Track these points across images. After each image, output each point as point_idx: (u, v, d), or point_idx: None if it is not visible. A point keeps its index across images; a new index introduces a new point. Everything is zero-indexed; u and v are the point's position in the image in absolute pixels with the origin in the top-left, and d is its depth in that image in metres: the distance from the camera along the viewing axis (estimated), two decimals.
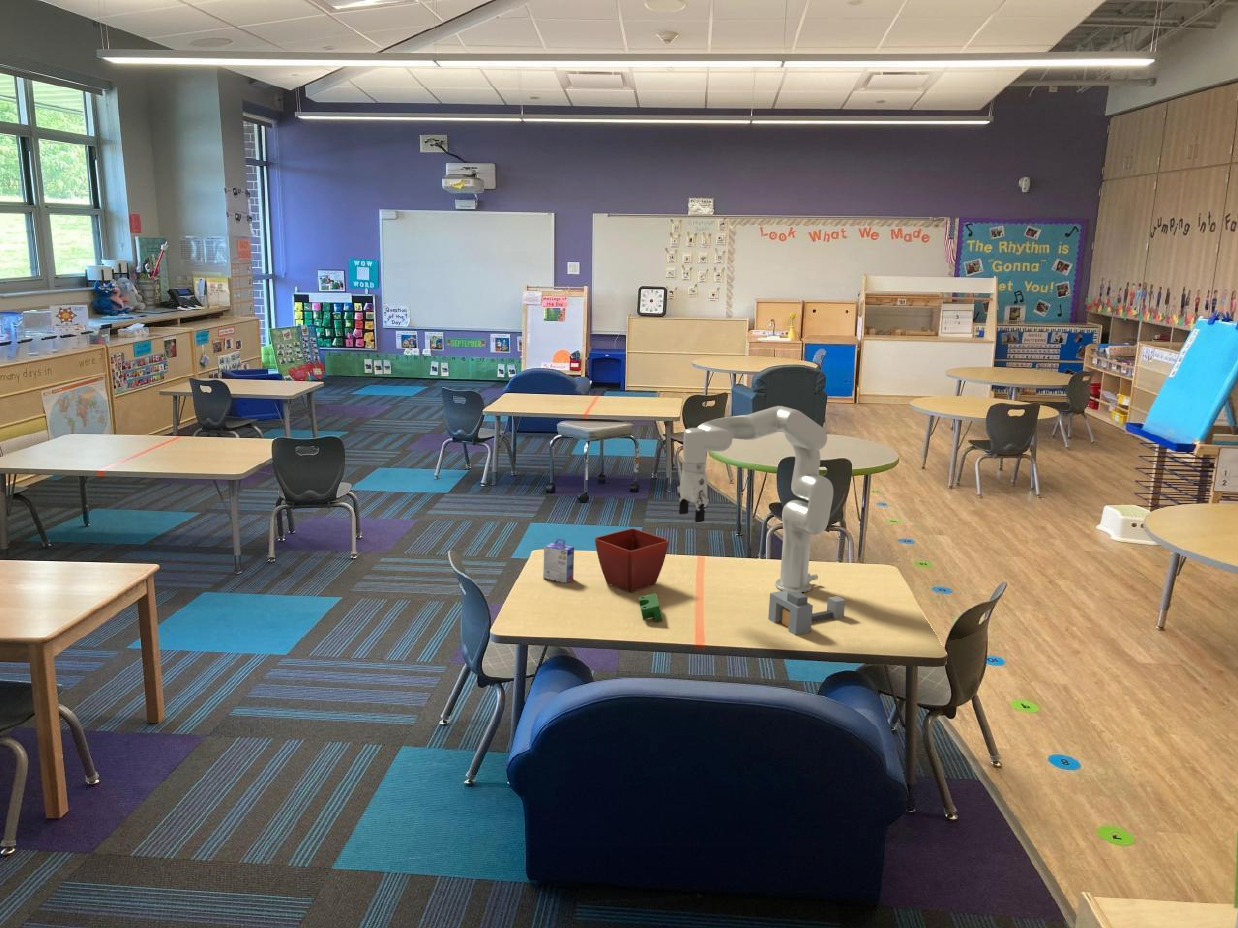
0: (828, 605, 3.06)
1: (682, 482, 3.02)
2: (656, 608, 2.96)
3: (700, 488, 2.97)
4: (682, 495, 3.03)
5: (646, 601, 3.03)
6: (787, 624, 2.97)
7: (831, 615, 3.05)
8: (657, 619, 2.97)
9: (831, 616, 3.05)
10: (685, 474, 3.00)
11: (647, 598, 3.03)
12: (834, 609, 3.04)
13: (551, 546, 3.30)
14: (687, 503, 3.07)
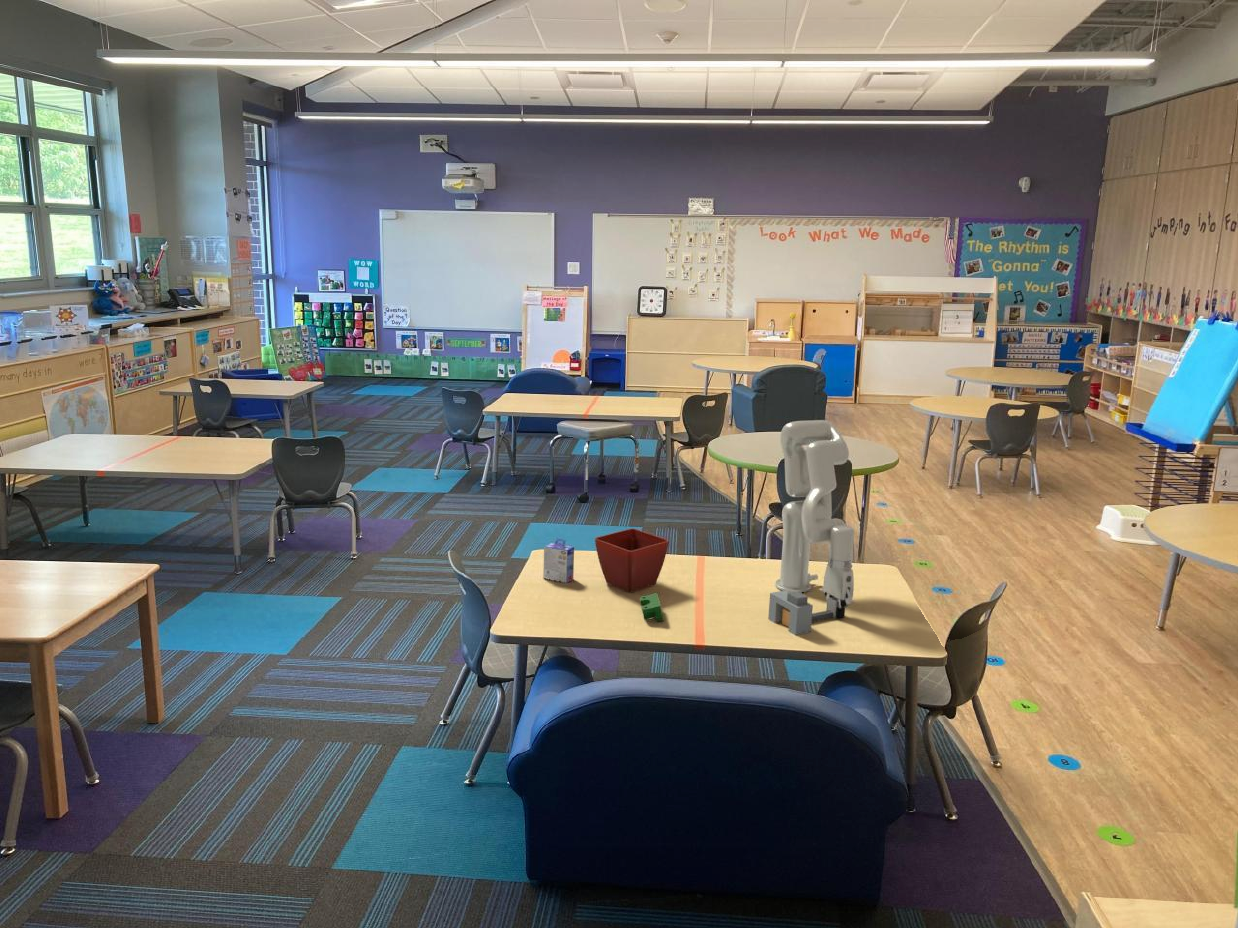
0: (828, 605, 3.06)
1: (827, 577, 3.05)
2: (657, 608, 2.96)
3: (847, 585, 2.99)
4: (826, 590, 3.06)
5: (647, 601, 3.03)
6: (787, 624, 2.97)
7: (831, 615, 3.05)
8: (658, 619, 2.97)
9: (831, 616, 3.05)
10: (831, 570, 3.03)
11: (649, 598, 3.03)
12: (834, 609, 3.04)
13: (550, 546, 3.30)
14: None
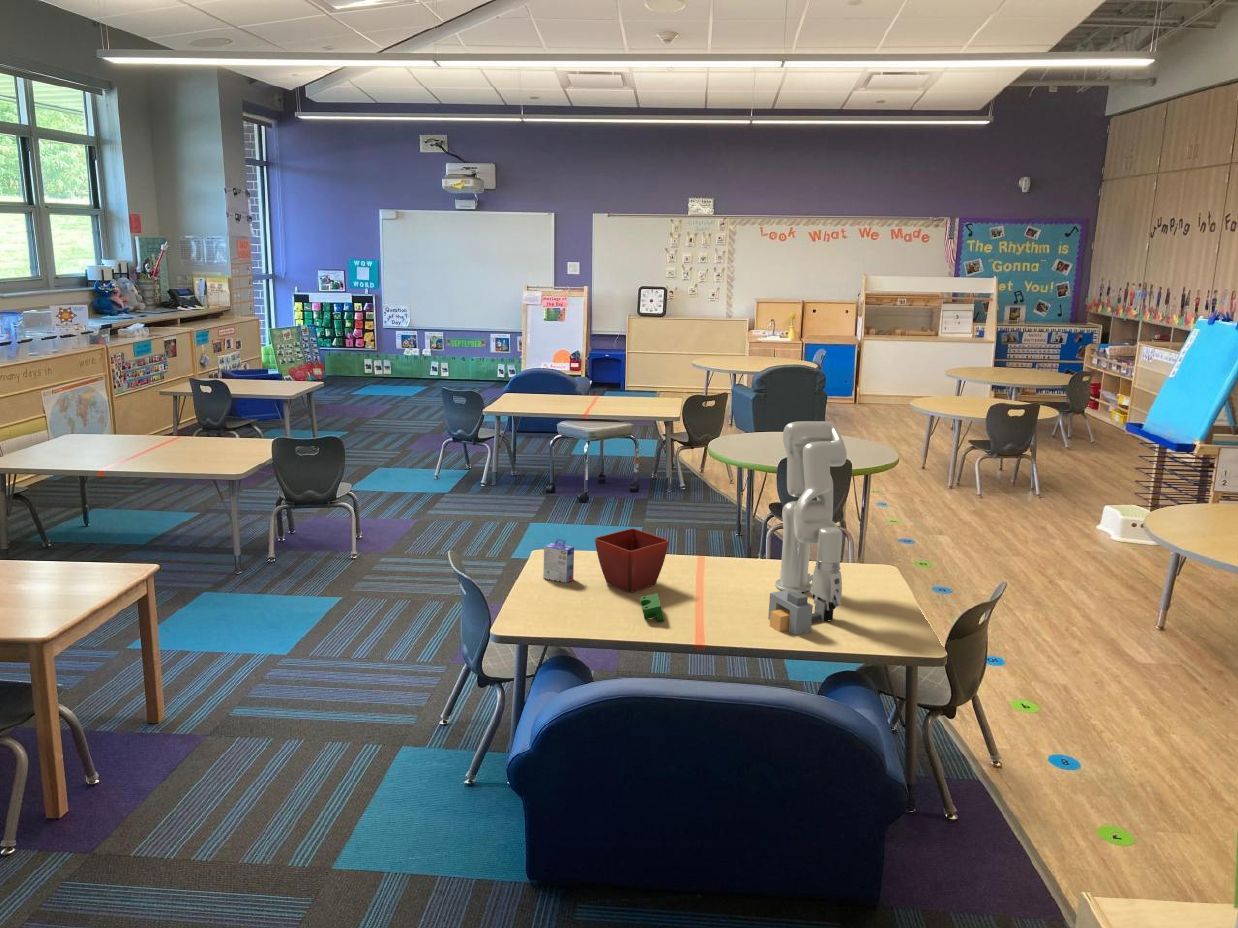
0: (816, 607, 3.04)
1: (815, 579, 3.03)
2: (658, 608, 2.96)
3: (835, 587, 2.97)
4: (814, 592, 3.04)
5: (648, 601, 3.03)
6: (775, 627, 2.95)
7: (819, 617, 3.02)
8: (659, 619, 2.97)
9: (819, 618, 3.02)
10: (819, 572, 3.00)
11: (649, 598, 3.03)
12: (822, 611, 3.01)
13: (551, 546, 3.30)
14: None
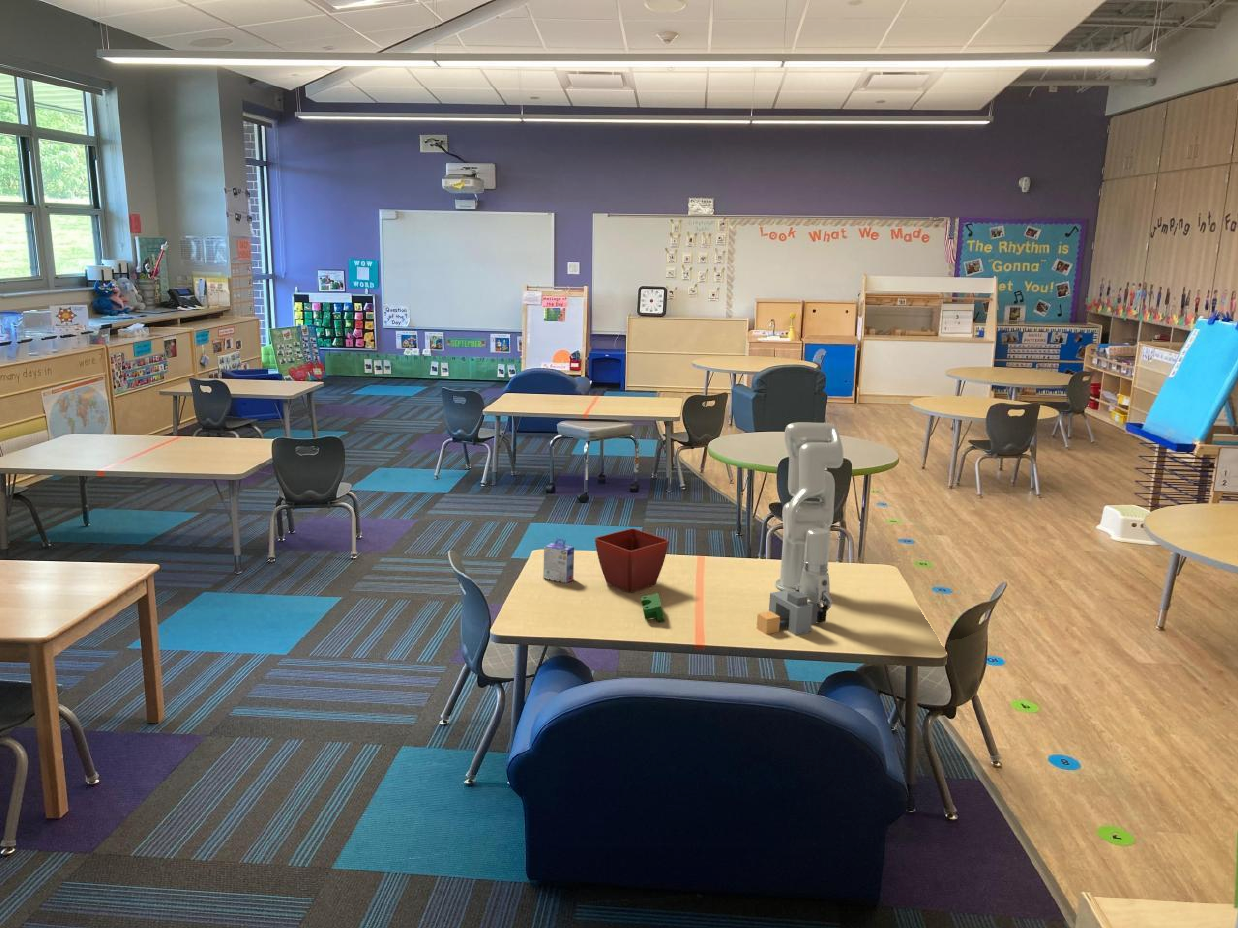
0: None
1: (802, 581, 3.01)
2: (658, 608, 2.96)
3: (823, 589, 2.95)
4: None
5: (648, 601, 3.03)
6: (762, 629, 2.92)
7: None
8: (659, 619, 2.97)
9: None
10: (807, 574, 2.98)
11: (650, 598, 3.03)
12: None
13: (551, 546, 3.30)
14: None
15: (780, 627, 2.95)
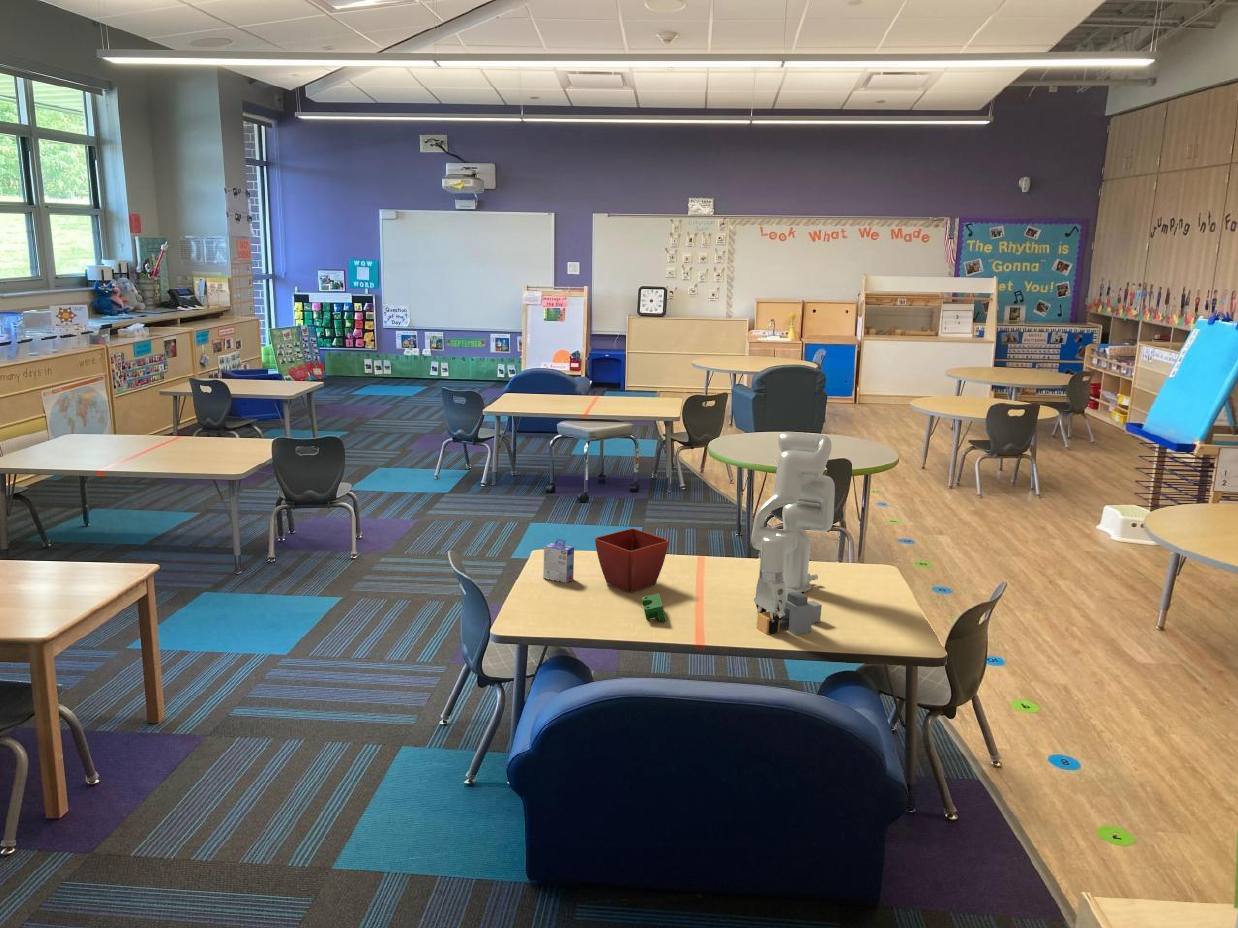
0: None
1: (758, 590, 2.92)
2: (660, 608, 2.96)
3: (778, 598, 2.87)
4: (758, 603, 2.94)
5: (649, 601, 3.03)
6: (762, 629, 2.92)
7: None
8: (660, 619, 2.97)
9: None
10: (763, 582, 2.90)
11: (651, 598, 3.03)
12: None
13: (551, 546, 3.30)
14: None
15: (780, 627, 2.95)
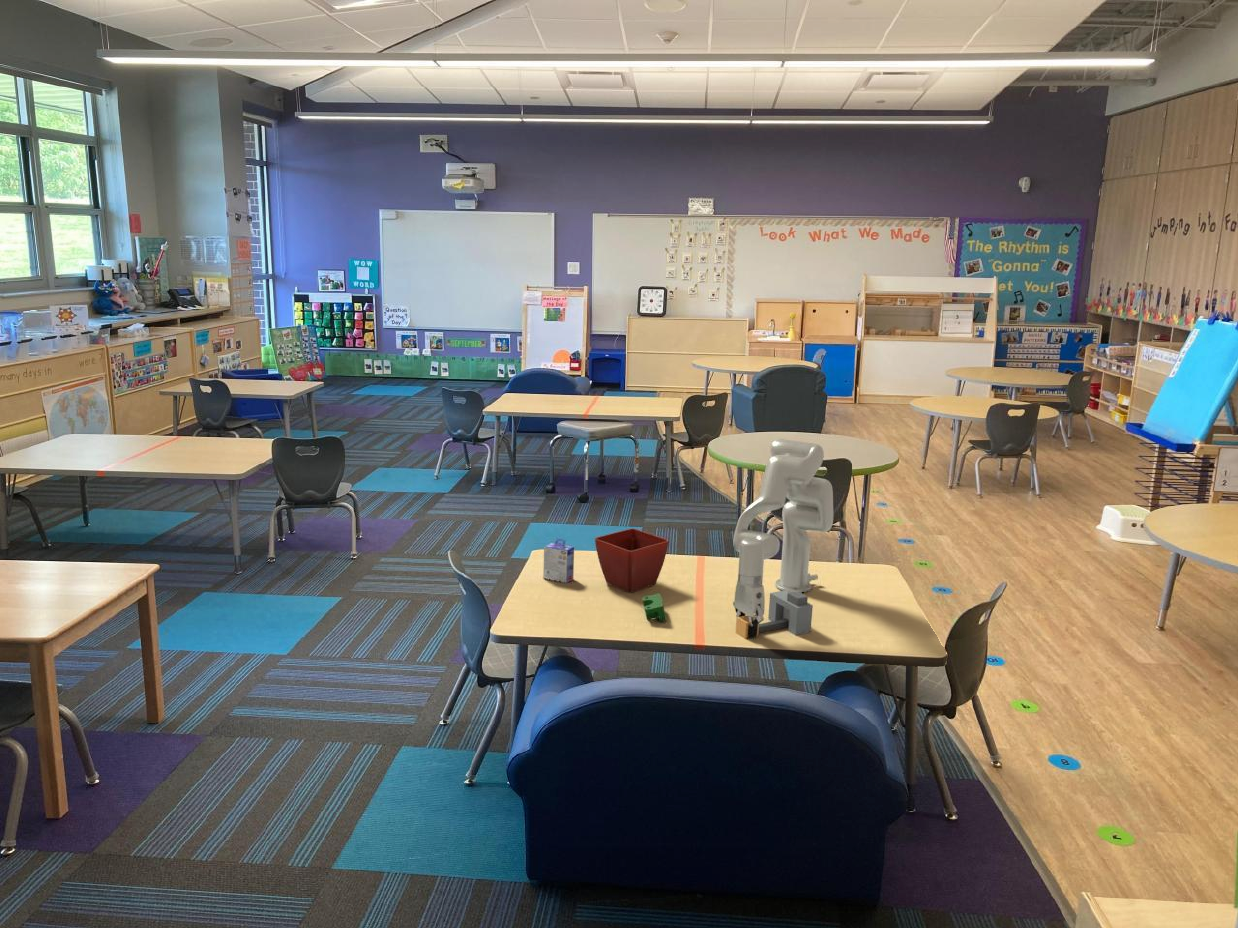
0: (784, 613, 2.98)
1: (737, 593, 2.89)
2: (660, 609, 2.96)
3: (757, 602, 2.83)
4: (737, 606, 2.90)
5: (650, 601, 3.03)
6: (741, 633, 2.89)
7: (787, 624, 2.96)
8: (661, 619, 2.97)
9: (787, 625, 2.96)
10: (741, 586, 2.86)
11: (651, 598, 3.03)
12: None
13: (551, 546, 3.30)
14: None
15: (759, 631, 2.91)
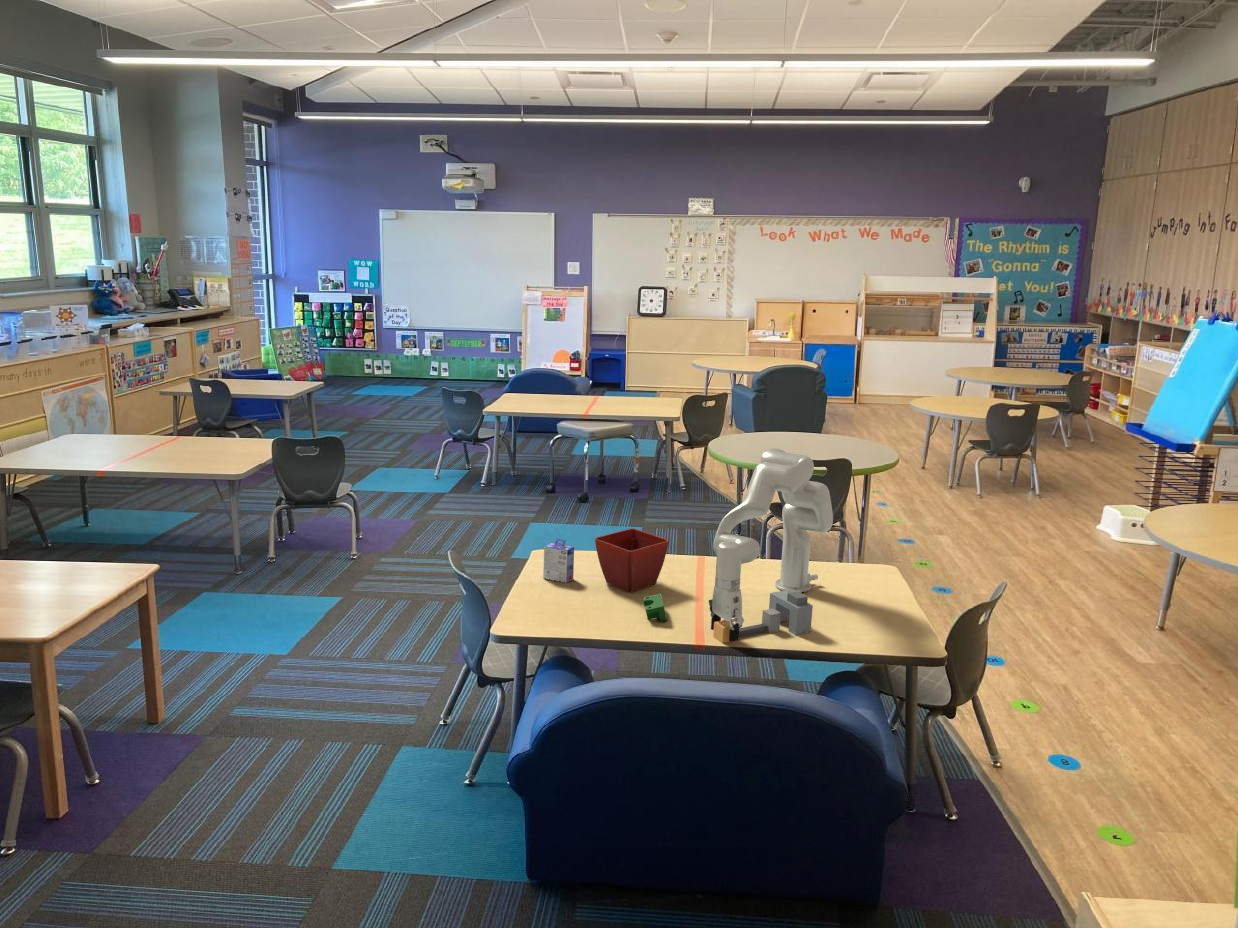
0: (763, 618, 2.94)
1: (715, 597, 2.85)
2: (661, 609, 2.96)
3: (734, 606, 2.79)
4: (714, 611, 2.86)
5: (651, 601, 3.03)
6: (718, 638, 2.85)
7: (766, 628, 2.92)
8: (662, 619, 2.97)
9: (766, 629, 2.92)
10: (718, 590, 2.82)
11: (652, 598, 3.03)
12: (769, 622, 2.92)
13: (551, 546, 3.30)
14: (719, 618, 2.90)
15: None
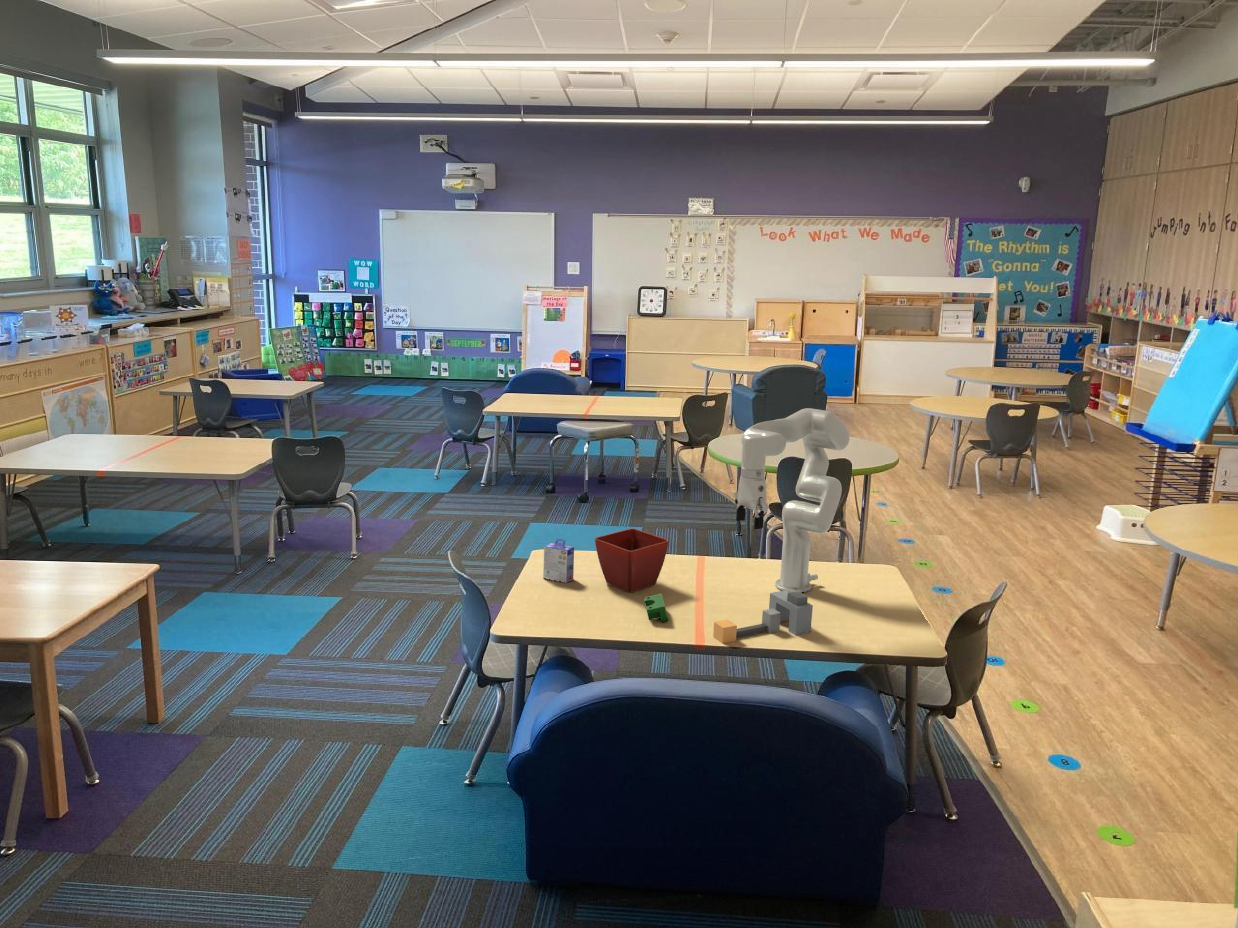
0: (763, 618, 2.94)
1: (740, 488, 2.99)
2: (662, 609, 2.96)
3: (759, 495, 2.94)
4: (740, 502, 3.00)
5: (652, 601, 3.03)
6: (718, 638, 2.85)
7: (766, 628, 2.92)
8: (663, 619, 2.97)
9: (766, 629, 2.92)
10: (744, 480, 2.97)
11: (653, 598, 3.03)
12: (769, 622, 2.92)
13: (551, 546, 3.30)
14: (744, 510, 3.04)
15: (737, 636, 2.87)
